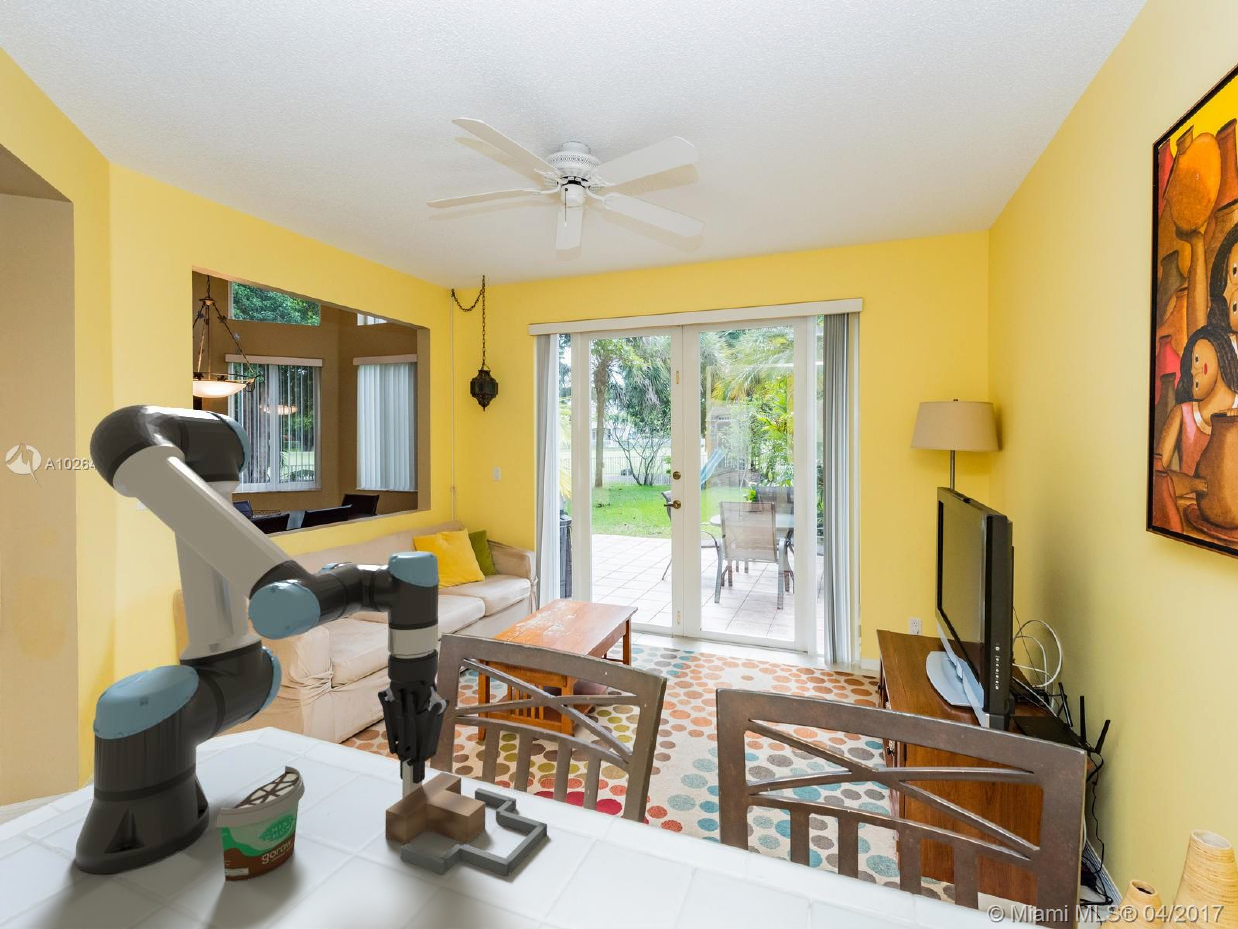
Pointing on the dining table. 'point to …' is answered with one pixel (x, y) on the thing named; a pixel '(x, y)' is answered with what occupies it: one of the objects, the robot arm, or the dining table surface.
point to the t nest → (479, 856)
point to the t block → (436, 812)
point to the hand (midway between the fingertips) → (412, 800)
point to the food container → (261, 828)
